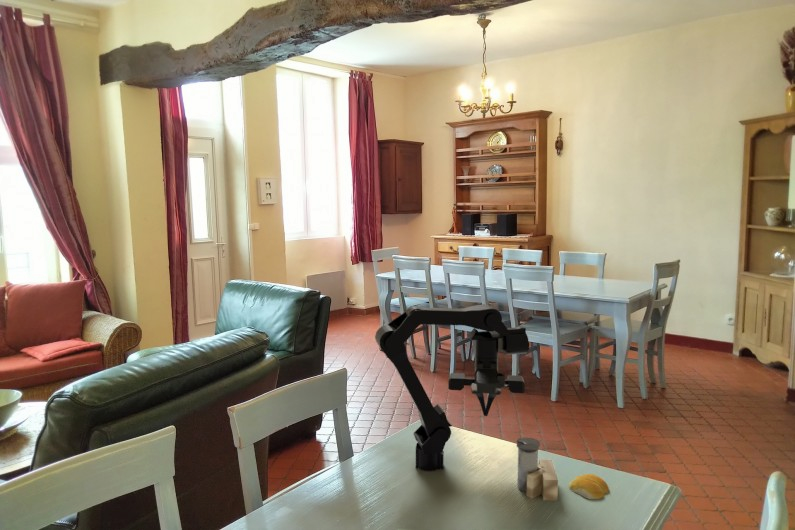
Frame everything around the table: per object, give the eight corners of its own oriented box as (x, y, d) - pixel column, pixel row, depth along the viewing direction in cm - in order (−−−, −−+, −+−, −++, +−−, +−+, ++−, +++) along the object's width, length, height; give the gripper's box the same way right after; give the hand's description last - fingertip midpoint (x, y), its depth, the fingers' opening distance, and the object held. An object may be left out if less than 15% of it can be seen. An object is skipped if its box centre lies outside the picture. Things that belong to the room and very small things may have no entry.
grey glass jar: (516, 492, 129) (517, 446, 128) (514, 481, 135) (515, 436, 133) (539, 494, 129) (541, 447, 128) (537, 482, 134) (538, 438, 133)
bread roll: (613, 492, 132) (614, 476, 132) (597, 507, 126) (598, 490, 125) (579, 480, 138) (580, 464, 138) (562, 494, 132) (563, 478, 131)
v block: (527, 499, 127) (527, 478, 126) (523, 477, 137) (523, 458, 136) (557, 501, 126) (557, 480, 125) (551, 479, 136) (551, 459, 135)
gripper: (447, 363, 136) (447, 426, 138) (527, 366, 133) (525, 430, 135) (449, 351, 147) (449, 409, 149) (523, 353, 144) (522, 412, 146)
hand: (485, 415), depth 144 cm, fingers closed
